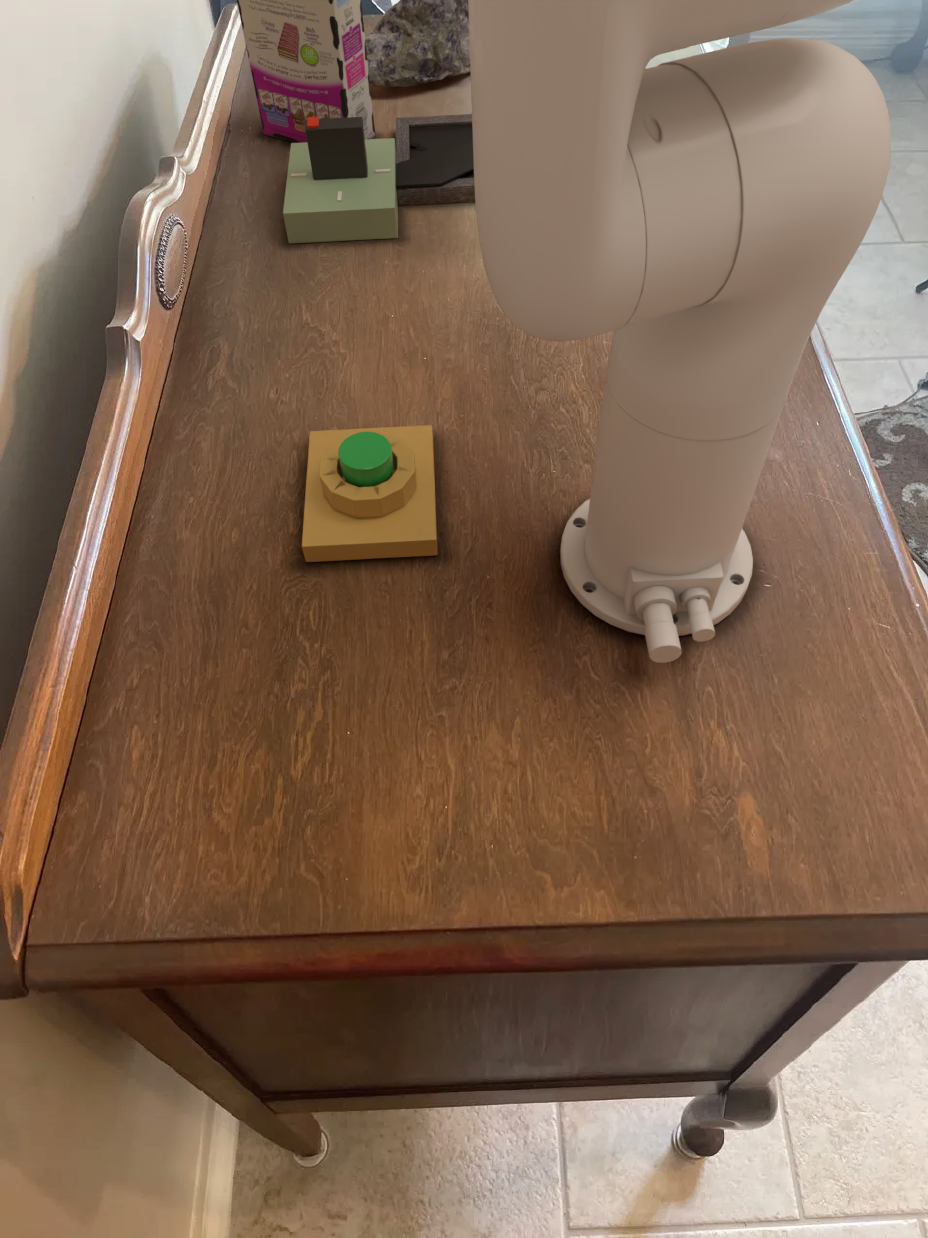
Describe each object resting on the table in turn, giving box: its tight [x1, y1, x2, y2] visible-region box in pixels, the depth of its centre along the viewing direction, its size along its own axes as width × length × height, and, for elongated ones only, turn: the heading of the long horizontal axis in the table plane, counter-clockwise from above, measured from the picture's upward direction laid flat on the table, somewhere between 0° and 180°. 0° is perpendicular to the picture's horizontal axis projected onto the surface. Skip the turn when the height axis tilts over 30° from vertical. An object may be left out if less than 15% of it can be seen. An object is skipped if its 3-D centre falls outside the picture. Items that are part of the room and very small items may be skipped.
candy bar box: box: [236, 0, 376, 143], centre depth 88 cm, size 11×5×16 cm, turn 62°
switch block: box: [301, 424, 439, 563], centre depth 64 cm, size 11×9×4 cm
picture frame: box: [395, 113, 475, 206], centre depth 90 cm, size 13×2×18 cm
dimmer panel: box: [282, 137, 399, 244], centre depth 86 cm, size 12×10×3 cm
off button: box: [338, 432, 394, 487], centre depth 62 cm, size 4×4×2 cm
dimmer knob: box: [305, 117, 368, 180], centre depth 83 cm, size 5×2×5 cm, turn 93°
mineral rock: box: [365, 0, 471, 88], centre depth 98 cm, size 13×11×10 cm
